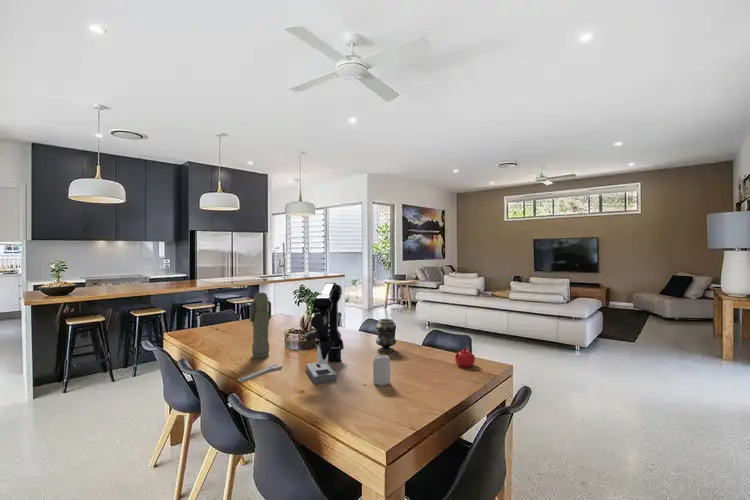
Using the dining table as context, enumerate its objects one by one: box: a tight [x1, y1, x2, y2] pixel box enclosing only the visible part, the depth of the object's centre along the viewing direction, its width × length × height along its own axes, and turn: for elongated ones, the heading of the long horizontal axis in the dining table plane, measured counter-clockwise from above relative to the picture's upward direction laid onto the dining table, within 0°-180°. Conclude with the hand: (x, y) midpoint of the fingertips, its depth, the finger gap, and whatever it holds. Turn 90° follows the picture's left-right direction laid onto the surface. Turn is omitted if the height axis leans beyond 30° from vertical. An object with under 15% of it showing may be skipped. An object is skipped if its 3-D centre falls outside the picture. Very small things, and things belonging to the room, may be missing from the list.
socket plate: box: [305, 362, 338, 385], centre depth 177 cm, size 10×20×3 cm, turn 21°
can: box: [372, 354, 391, 387], centre depth 166 cm, size 8×8×12 cm
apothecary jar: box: [375, 318, 397, 353], centre depth 219 cm, size 12×12×18 cm
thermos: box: [249, 292, 272, 360], centre depth 207 cm, size 9×12×35 cm
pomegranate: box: [454, 347, 476, 368], centre depth 191 cm, size 10×10×9 cm
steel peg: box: [317, 344, 329, 364], centre depth 172 cm, size 4×4×8 cm
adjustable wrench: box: [238, 363, 283, 383], centre depth 179 cm, size 25×6×2 cm, turn 146°
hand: (322, 358), depth 172 cm, fingers closed on steel peg, 4 cm apart
